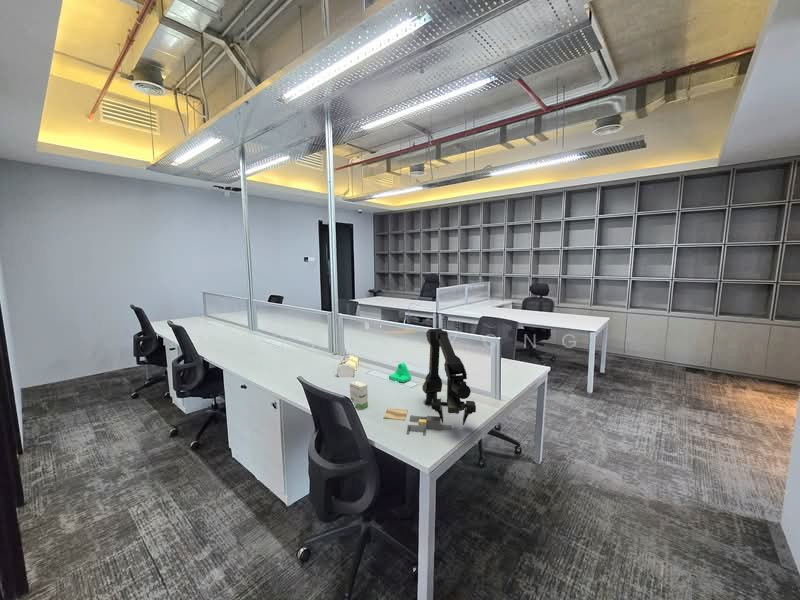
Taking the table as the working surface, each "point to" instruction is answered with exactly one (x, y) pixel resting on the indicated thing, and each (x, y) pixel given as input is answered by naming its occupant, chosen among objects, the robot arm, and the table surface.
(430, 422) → the plug
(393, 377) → the camera mount
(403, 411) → the pad
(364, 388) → the ink box
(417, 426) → the pair of grey brackets
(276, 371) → the table surface
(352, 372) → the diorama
